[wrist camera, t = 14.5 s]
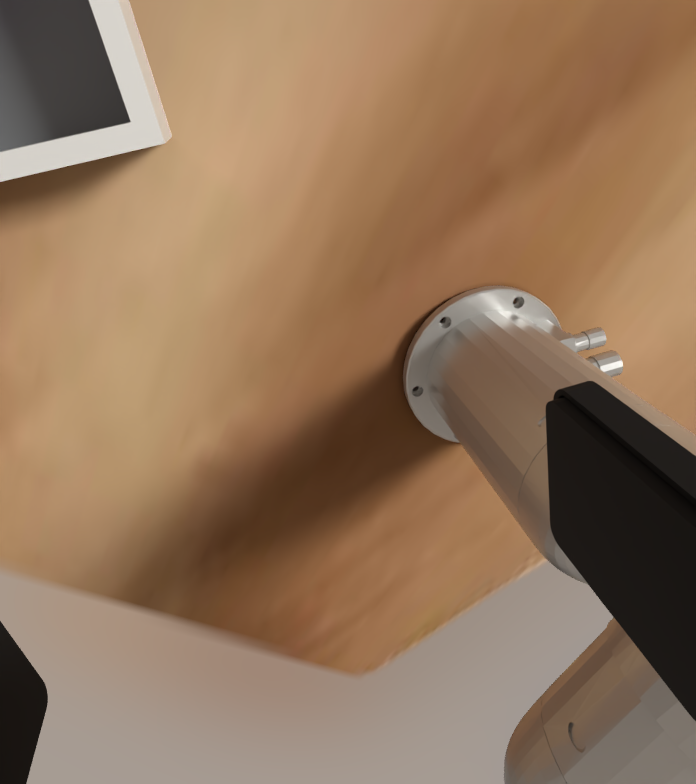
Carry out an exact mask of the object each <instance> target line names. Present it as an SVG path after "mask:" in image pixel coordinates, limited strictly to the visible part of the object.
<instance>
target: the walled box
mask: <svg viewBox="0 0 696 784" xmlns="http://www.w3.org/2000/svg"><path fill="white" fill-rule="evenodd" d="M171 137H172V134H171V131H170V128H169V125H168V122H167V119H166V115H165V112H164V109H163V106H162V103H161V100H160V97H159V93H158V90H157V87H156V84H155V81H154V78H153V75H152V71H151V68H150V65H149V62H148V59H147V56H146V53H145V49H144V46H143V43H142V40H141V37H140V34H139V31H138V27H137V24H136V21H135V18H134V15H133V12H132V9H131V5H130V2H129V0H0V182H2V181H6V180H10V179H15V178H19V177H23V176H28V175H32V174H36V173H40V172H45V171H49V170H53V169H58V168H62V167H66V166H70V165H75V164H79V163H83V162H88V161H92V160H96V159H100V158H105V157H109V156H113V155H118V154H122V153H126V152H131V151H135V150H139V149H143V148H148V147H152V146H156V145H161V144H165V143H166V142H167V141H168V140H169V139H170V138H171Z"/></svg>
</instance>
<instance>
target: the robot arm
mask: <svg viewBox="0 0 696 784" xmlns="http://www.w3.org/2000/svg"><path fill="white" fill-rule="evenodd" d="M515 298H516V299H515ZM514 299H515V300H514ZM443 317H444V319H443V321H440V320H441V319H442V318H443ZM605 343H606V335H605V333H604V331H603V329H602V328H599V327H597V328H593V329H590V330H586V331H583V332H581V333H579V334H575V335H571V334H570V333H566V332H565V331H563V330H562V329H561V326H560V324H559V321H558V319H557V318H556V316H555V315H554V314H553V312H552V311H551V309H550V308H549V307H548V306H547V305H545V304H544V303H543V302H542V301H541V300H539V299H538V298H536V297H535V296H533V295H531V294H530V293H528V292H525V291H523V290H520V289H517V288H514V287H507V286H500V285H498V286H484V287H480V288H476V289H472V290H469V291H466V292H464V293H462V294H459V295H457V296H455V297H453V298H451V299H450V300H448V301H447V302H446V303H444V304H443V305H441V306H440V307H438V308H437V309H436V310H435V311H434V312H433V313H432V314H431V315H430V316H429V317H428V318H427V319H426V320H425V321H424V323H423V324H422V325H421V327H420V328H419V330H418V331H417V332H416V334H415V336H414V338H413V340H412V342H411V344H410V346H409V348H408V351H407V355H406V358H405V362H404V370H403V385H404V393H405V395H406V398H407V401H408V404H409V406H410V408H411V409H412V411H413V413H414V414H415V416H416V417H417V419H418V420H419V421H420V422H421V424H422V425H423V426H424V427H425V428H427V429H428V430H429V431H430V432H432V433H433V434H435V435H437V436H439V437H441V438H443V439H445V440H449V441H452V442H457V443H461V445H462V446H463V447H464V449H465V450H466V452H467V453H468V454H469V456H470V457H471V458H472V460H473V461H474V463H475V464H476V465H477V467H478V468H479V470H480V471H481V472H482V474H483V475H484V476H485V478H486V479H487V481H488V482H489V483H490V485H491V486H492V487H493V489H494V490H495V492H496V493H497V494H498V496H499V497H500V499H501V500H502V501H503V503H504V504H505V505H506V507H507V508H508V510H509V511H510V512H511V514H512V515H513V517H514V518H515V519H516V521H517V522H518V523H519V525H520V526H521V528H522V529H523V530H524V532H525V533H526V534H527V536H528V537H529V538H530V540H531V541H532V542H533V544H534V545H535V546H536V548H537V549H538V550H539V552H540V553H541V554H542V555H543V556H544V557H545V558H546V559H547V560H548V561H549V562H550V563H551V564H552V565H554V566H555V567H556V568H557V569H559V570H560V571H562V572H563V573H565V574H567V575H568V576H570V577H572V578H574V579H576V580H578V581H580V582H583V583H586V584H588V585H589V586H590V587H591V588H592V590H593V591H594V592H595V593H596V595H597V596H598V597H599V599H600V600H601V601H602V603H603V604H604V605H605V606H606V608H607V609H608V610H609V612H610V613H611V614H612V615H613V617H614V618H613V619H612V620H611V621H610V622H609V623H608V625H607V628H606V629H605V630H604V631H603V632H602V633H601V634H600V635H599V636H598V637H597V638H596V639H595V640H594V641H593V643H592V644H590V645H589V646H588V647H587V649H586V650H585V651H584V652H583V653H582V654H581V655H580V656H579V657H578V658H577V659H576V660H575V661H574V662H573V663H572V664H571V665H570V666H569V667H568V669H566V670H565V671H564V672H563V673H562V675H560V677H559V678H558V679H557V680H556V681H555V682H554V683H553V684H552V685H551V686H550V687H549V688H548V689H547V690H546V691H545V693H544V694H543V695H542V696H541V697H540V698H539V699H538V700H537V701H536V702H535V703H534V704H533V706H532V707H531V708H530V709H529V710H528V712H527V713H526V714H525V715H524V716H523V718H522V719H521V721H520V722H519V724H518V725H517V727H516V728H515V730H514V732H513V734H512V736H511V738H510V741H509V744H508V747H507V751H506V755H505V762H504V782H505V784H696V435H695V434H693V433H692V432H690V431H689V430H688V429H686V428H685V427H683V426H682V425H680V424H679V423H677V422H676V421H674V420H673V419H671V418H670V417H669V416H667V415H666V414H664V413H663V412H661V411H659V410H658V409H656V408H655V407H653V406H652V405H651V404H649V403H648V402H646V401H645V400H643V399H642V398H640V397H639V396H638V395H636V394H635V393H633V392H632V391H630V390H629V389H628V388H626V387H625V386H623V385H622V384H620V383H619V382H617V381H616V380H615V379H613V378H612V377H613V376H617V375H620V374H621V373H622V370H623V364H622V360H621V358H620V356H619V354H618V353H617V352H616V351H613V350H610V351H607V352H603V353H600V354H596V355H593V356H590V357H589V358H587V359H584V358H583V357H582V356H580V355H579V354H577V352H579V351H582V350H589V349H593V348H596V347H600V346H603V345H604V344H605ZM416 386H417V387H416ZM414 387H416V388H414ZM413 388H414V389H413ZM47 700H48V696H47V689H46V686H45V684H44V682H43V680H42V679H41V677H40V676H39V674H38V673H37V672H36V670H35V669H34V667H33V666H32V665H31V663H30V662H29V661H28V659H27V658H26V656H25V655H24V654H23V652H22V651H21V649H20V648H19V647H18V645H17V644H16V642H15V641H14V640H13V638H12V637H11V636H10V634H9V633H8V631H7V630H6V628H5V627H4V626H3V624H2V623H1V621H0V784H26V782H27V778H28V775H29V771H30V767H31V764H32V760H33V756H34V752H35V749H36V745H37V742H38V738H39V734H40V730H41V727H42V723H43V719H44V716H45V712H46V708H47V702H48V701H47Z"/></svg>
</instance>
